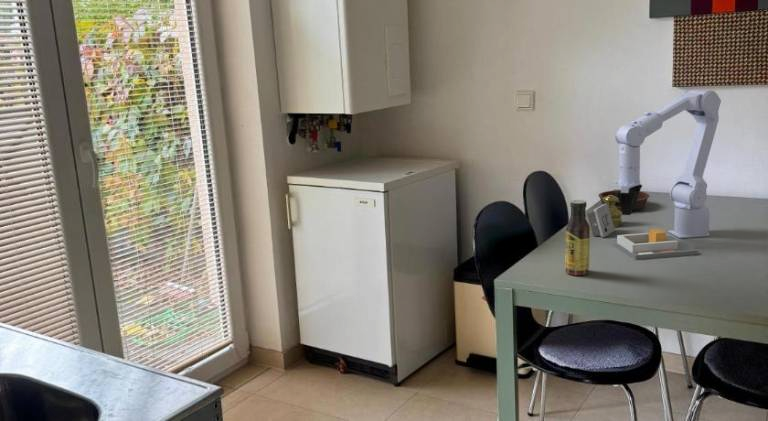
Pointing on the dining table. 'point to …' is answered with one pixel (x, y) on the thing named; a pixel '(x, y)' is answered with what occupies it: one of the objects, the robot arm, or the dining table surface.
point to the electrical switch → (601, 221)
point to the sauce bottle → (577, 240)
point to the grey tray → (652, 247)
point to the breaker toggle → (657, 235)
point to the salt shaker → (613, 210)
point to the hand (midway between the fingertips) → (628, 211)
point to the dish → (639, 205)
